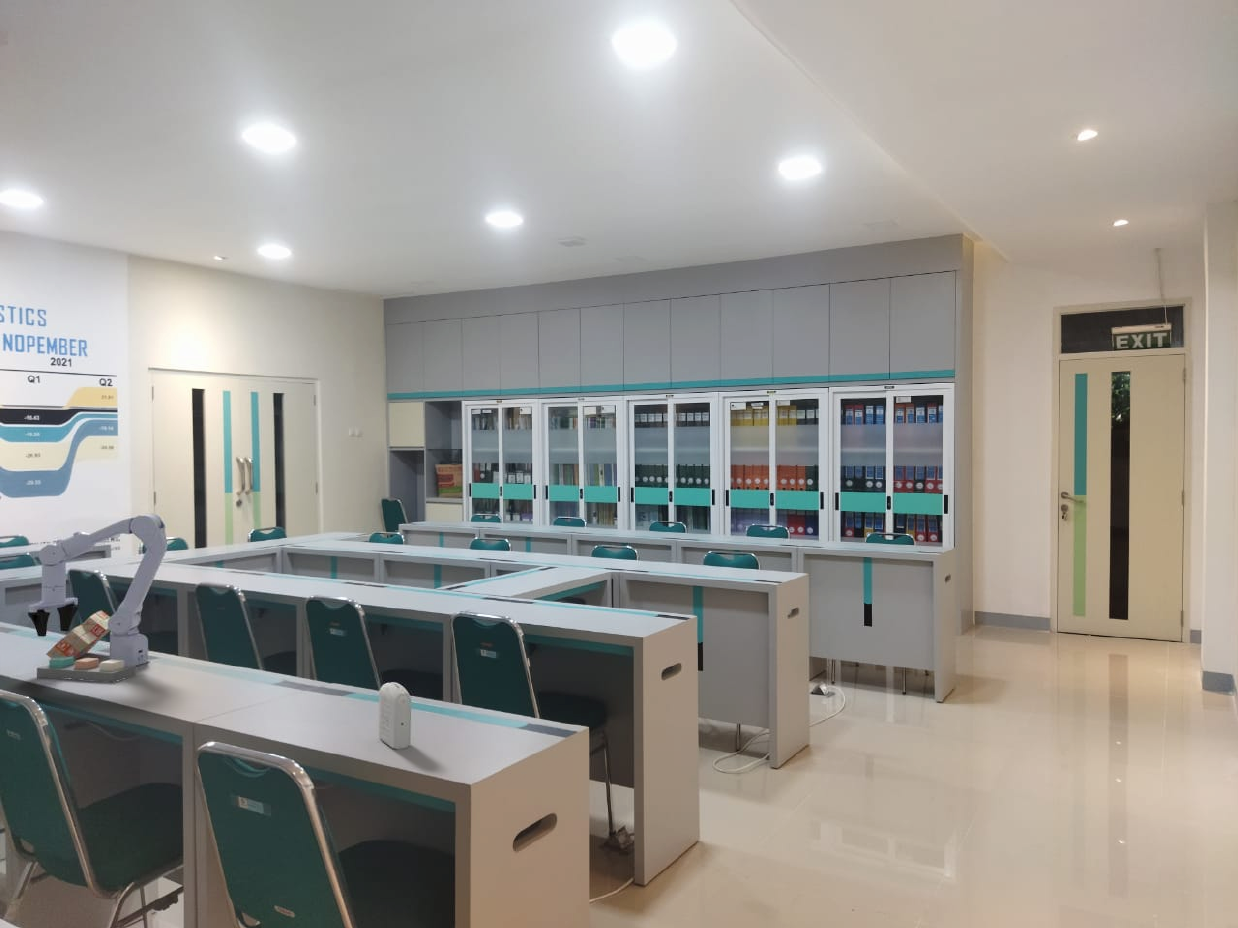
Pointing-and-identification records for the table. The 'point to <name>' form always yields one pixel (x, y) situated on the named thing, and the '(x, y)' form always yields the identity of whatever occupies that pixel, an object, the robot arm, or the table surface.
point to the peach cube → (86, 663)
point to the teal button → (61, 662)
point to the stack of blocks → (82, 637)
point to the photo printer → (395, 715)
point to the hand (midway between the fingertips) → (53, 633)
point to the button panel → (86, 673)
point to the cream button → (111, 665)
